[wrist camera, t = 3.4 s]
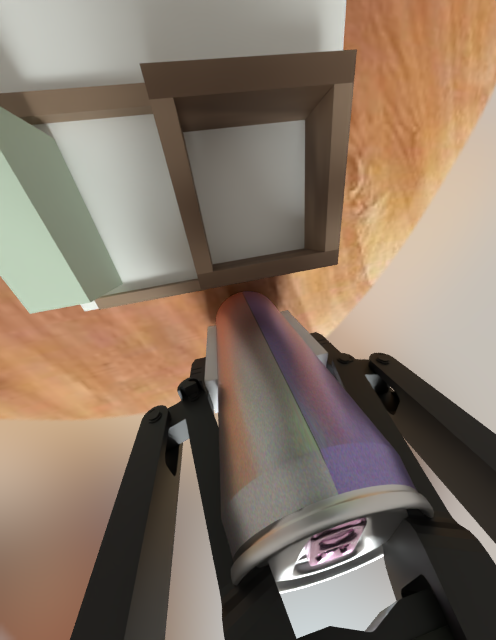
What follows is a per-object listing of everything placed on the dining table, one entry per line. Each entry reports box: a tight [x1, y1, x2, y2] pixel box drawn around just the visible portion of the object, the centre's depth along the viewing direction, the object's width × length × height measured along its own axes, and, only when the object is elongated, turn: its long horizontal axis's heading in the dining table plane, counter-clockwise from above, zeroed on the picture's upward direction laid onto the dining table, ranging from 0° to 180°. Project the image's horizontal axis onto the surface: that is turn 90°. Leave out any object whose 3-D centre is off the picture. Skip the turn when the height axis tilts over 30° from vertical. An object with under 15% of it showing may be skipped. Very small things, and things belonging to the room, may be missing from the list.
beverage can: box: [216, 291, 434, 593], centre depth 11 cm, size 6×6×15 cm
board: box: [0, 0, 346, 311], centre depth 11 cm, size 17×20×2 cm
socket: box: [139, 50, 357, 290], centre depth 11 cm, size 10×10×3 cm
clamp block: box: [0, 107, 123, 314], centre depth 9 cm, size 8×3×4 cm, turn 8°
